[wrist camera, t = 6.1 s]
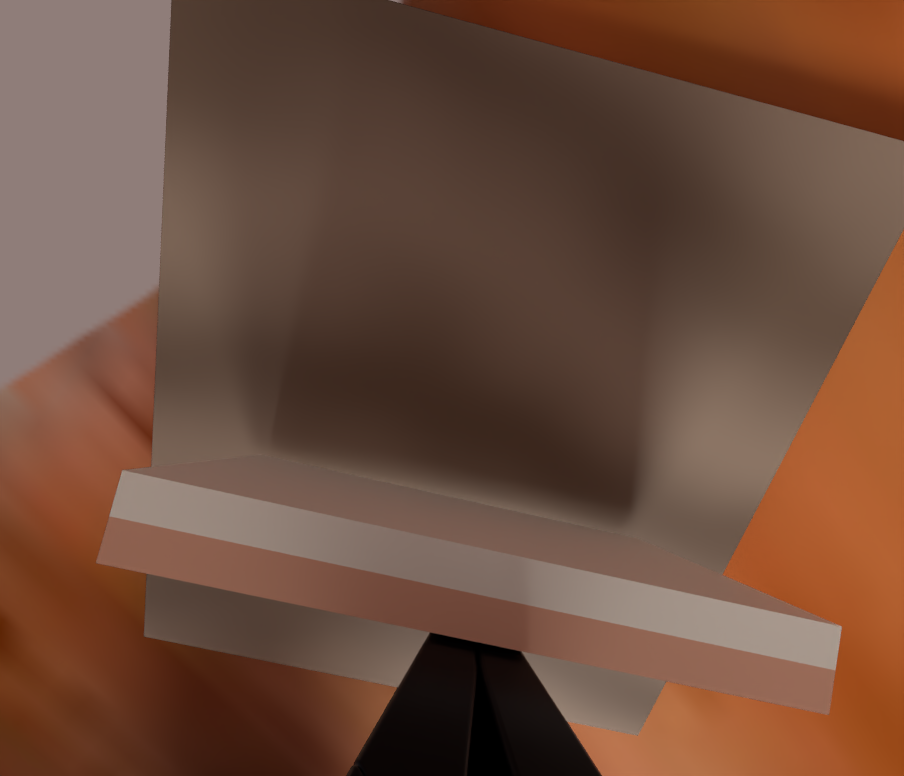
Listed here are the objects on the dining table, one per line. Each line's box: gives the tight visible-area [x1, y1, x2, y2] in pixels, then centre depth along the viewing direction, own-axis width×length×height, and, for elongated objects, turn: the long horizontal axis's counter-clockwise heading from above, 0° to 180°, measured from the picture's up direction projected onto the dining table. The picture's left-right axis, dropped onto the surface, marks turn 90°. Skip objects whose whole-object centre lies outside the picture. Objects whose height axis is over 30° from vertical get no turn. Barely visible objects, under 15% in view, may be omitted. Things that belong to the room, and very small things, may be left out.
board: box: [144, 0, 904, 736], centre depth 15 cm, size 18×16×1 cm
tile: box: [96, 455, 842, 715], centre depth 11 cm, size 7×10×1 cm
